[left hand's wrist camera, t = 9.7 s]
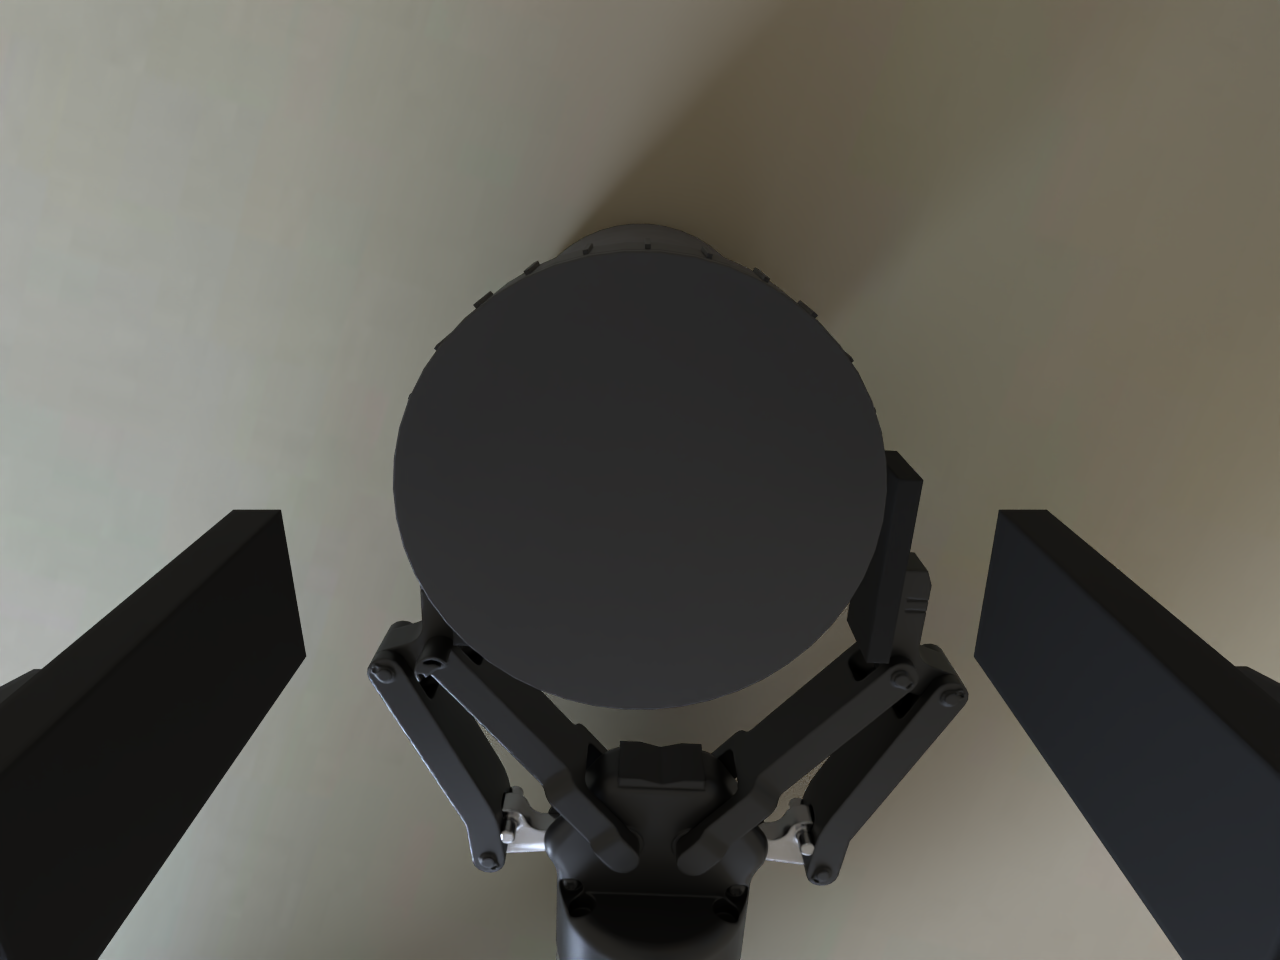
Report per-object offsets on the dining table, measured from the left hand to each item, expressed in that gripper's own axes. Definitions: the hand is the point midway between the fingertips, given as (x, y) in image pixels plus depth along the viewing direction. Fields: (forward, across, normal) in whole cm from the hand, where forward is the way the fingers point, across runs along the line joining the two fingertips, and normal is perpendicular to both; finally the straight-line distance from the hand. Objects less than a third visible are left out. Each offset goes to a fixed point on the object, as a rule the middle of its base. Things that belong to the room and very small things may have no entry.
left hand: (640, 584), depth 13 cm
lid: (+4, 0, 0) cm, 4 cm away
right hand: (+12, -1, +2) cm, 13 cm away
